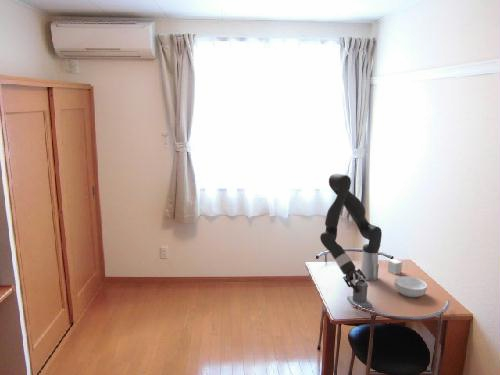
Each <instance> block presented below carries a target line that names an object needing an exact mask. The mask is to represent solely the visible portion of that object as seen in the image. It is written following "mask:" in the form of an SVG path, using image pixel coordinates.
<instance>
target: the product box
mask: <svg viewBox="0 0 500 375" xmlns="http://www.w3.org/2000/svg"><path fill="white" fill-rule="evenodd" d="M387 262H388V263H387V273H388V272H389V273H390V272H391V274H393V275H398V274H401V273H402V269H403V268H402V267H403V261H401V260H398V259H395V258H394V259H390V260H388V261H387Z"/></svg>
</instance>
